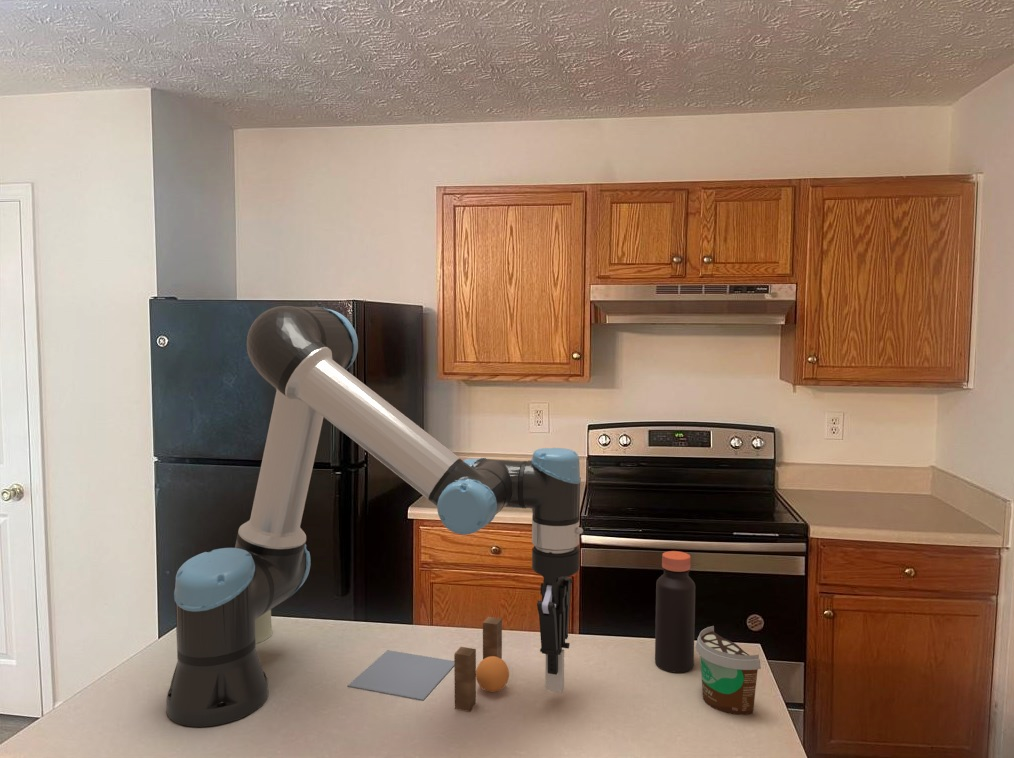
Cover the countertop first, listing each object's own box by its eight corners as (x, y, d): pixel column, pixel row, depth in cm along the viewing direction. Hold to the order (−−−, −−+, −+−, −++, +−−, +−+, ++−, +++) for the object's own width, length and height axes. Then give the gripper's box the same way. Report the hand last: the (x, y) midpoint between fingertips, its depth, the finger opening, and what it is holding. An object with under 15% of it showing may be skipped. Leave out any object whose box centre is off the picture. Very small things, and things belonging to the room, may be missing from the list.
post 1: (454, 708, 113) (454, 653, 113) (460, 700, 116) (460, 646, 115) (469, 711, 113) (469, 656, 112) (475, 703, 115) (475, 649, 114)
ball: (472, 661, 117) (504, 669, 115) (484, 647, 122) (515, 655, 121) (469, 692, 118) (500, 702, 116) (480, 677, 123) (511, 686, 121)
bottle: (698, 673, 125) (700, 561, 124) (659, 673, 125) (661, 561, 124) (688, 655, 132) (690, 549, 130) (651, 655, 132) (653, 549, 130)
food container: (679, 688, 120) (680, 630, 119) (710, 681, 122) (711, 624, 122) (726, 726, 109) (728, 662, 108) (759, 718, 111) (761, 655, 110)
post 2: (482, 672, 125) (482, 622, 125) (488, 665, 128) (488, 616, 127) (496, 674, 124) (496, 624, 124) (501, 668, 127) (501, 618, 126)
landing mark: (347, 686, 120) (347, 685, 120) (387, 651, 134) (387, 650, 134) (423, 700, 116) (423, 699, 116) (457, 662, 129) (457, 661, 129)
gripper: (568, 561, 107) (567, 714, 108) (587, 537, 119) (586, 674, 121) (520, 556, 109) (520, 705, 111) (544, 532, 121) (543, 667, 123)
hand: (554, 689), depth 116 cm, fingers closed
